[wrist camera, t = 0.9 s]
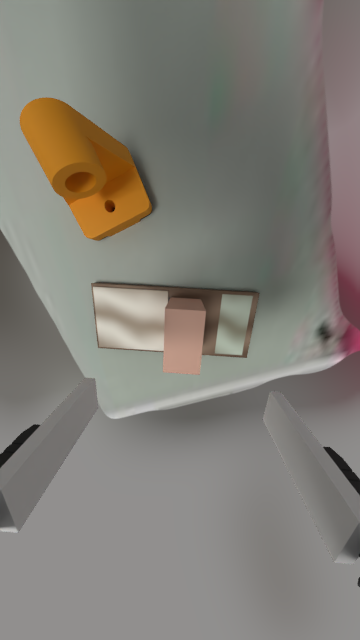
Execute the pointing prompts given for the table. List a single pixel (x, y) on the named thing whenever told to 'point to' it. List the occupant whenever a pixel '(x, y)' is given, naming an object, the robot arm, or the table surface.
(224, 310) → the board
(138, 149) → the table surface
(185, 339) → the stub
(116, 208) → the bracket
